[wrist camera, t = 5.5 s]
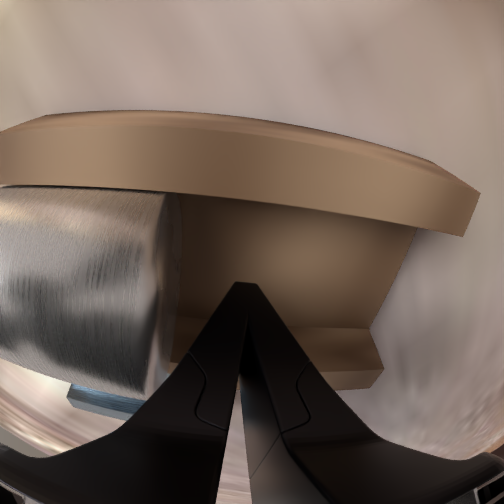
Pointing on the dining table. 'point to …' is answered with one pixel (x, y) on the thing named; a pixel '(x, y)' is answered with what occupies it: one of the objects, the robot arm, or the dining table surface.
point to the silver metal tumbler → (90, 284)
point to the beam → (261, 214)
